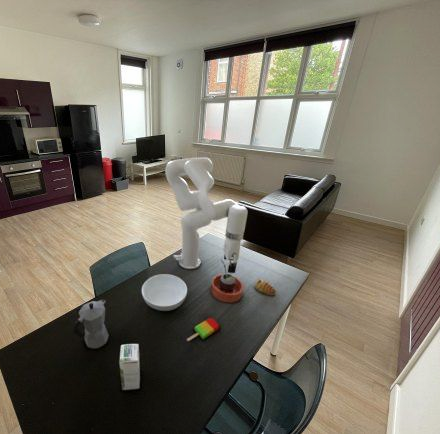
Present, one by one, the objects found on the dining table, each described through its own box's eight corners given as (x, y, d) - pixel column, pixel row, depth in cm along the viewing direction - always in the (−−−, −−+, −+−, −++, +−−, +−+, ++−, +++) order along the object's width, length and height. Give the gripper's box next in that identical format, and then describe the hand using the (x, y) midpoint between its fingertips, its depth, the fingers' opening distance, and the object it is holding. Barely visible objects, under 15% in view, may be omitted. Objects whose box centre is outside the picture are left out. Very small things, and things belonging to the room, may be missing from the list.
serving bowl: (137, 290, 118) (137, 279, 115) (177, 281, 124) (177, 270, 121) (148, 322, 100) (148, 310, 97) (194, 310, 106) (194, 299, 103)
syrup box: (123, 372, 82) (119, 344, 75) (140, 371, 82) (138, 342, 76) (122, 390, 77) (118, 361, 70) (140, 389, 77) (138, 360, 71)
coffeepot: (100, 321, 101) (95, 288, 93) (117, 331, 96) (113, 298, 89) (70, 350, 89) (61, 315, 82) (87, 363, 85) (80, 327, 77)
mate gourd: (233, 296, 113) (237, 271, 107) (216, 293, 115) (219, 268, 109) (233, 286, 120) (237, 261, 113) (217, 283, 122) (220, 259, 115)
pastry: (277, 291, 117) (278, 285, 115) (271, 298, 113) (273, 292, 111) (258, 282, 123) (260, 276, 121) (252, 288, 119) (254, 282, 117)
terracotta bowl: (213, 302, 111) (214, 294, 108) (209, 281, 124) (210, 273, 122) (245, 303, 110) (246, 295, 108) (237, 282, 123) (239, 274, 121)
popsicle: (220, 328, 98) (220, 325, 97) (191, 347, 90) (191, 344, 89) (210, 319, 102) (211, 316, 101) (182, 336, 94) (182, 333, 94)
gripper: (222, 224, 111) (218, 254, 118) (229, 244, 95) (224, 277, 103) (238, 224, 110) (233, 255, 118) (248, 245, 95) (241, 278, 103)
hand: (229, 265), depth 110 cm, fingers open, 9 cm apart
